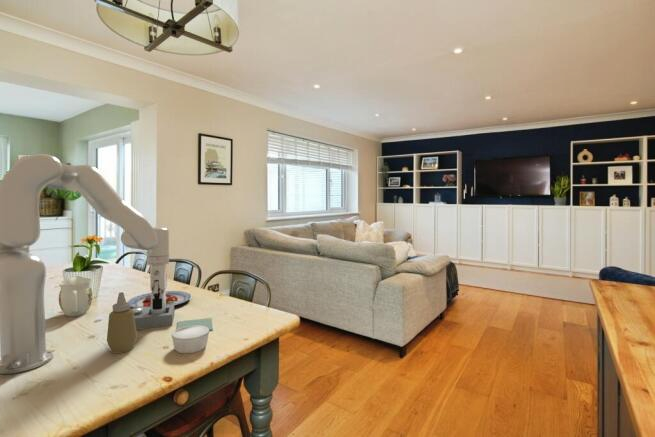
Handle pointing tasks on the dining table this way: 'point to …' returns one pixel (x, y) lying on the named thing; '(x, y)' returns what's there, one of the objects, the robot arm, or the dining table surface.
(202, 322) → the mat
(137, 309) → the plunger
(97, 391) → the dining table surface
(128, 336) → the squeeze bottle
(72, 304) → the pitcher
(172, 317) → the housing
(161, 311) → the cylinder
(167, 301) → the ceramic plate
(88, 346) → the dining table surface
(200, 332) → the ramekin
